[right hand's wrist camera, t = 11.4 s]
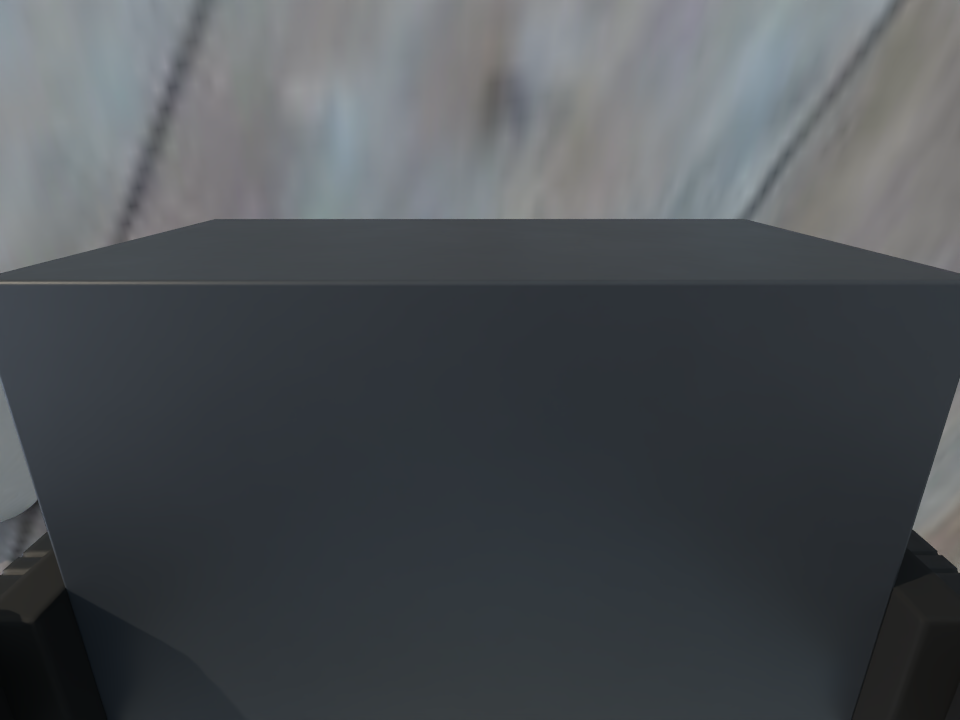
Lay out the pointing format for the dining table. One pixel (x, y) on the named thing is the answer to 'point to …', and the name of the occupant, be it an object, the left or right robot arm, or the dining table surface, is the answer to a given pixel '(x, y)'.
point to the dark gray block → (479, 464)
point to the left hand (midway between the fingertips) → (454, 708)
